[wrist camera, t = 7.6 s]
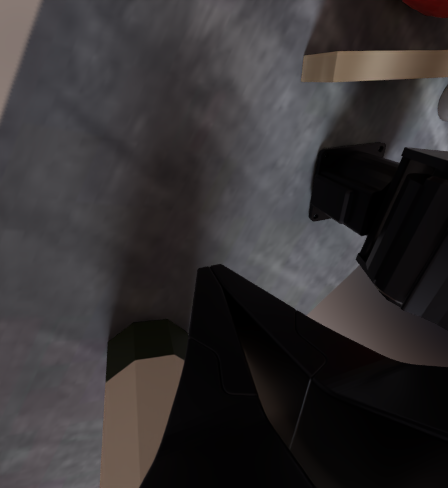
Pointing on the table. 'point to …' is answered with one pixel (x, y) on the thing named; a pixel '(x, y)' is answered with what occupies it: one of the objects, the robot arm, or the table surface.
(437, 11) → the pomegranate
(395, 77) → the frame
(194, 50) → the table surface
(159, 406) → the wine bottle
